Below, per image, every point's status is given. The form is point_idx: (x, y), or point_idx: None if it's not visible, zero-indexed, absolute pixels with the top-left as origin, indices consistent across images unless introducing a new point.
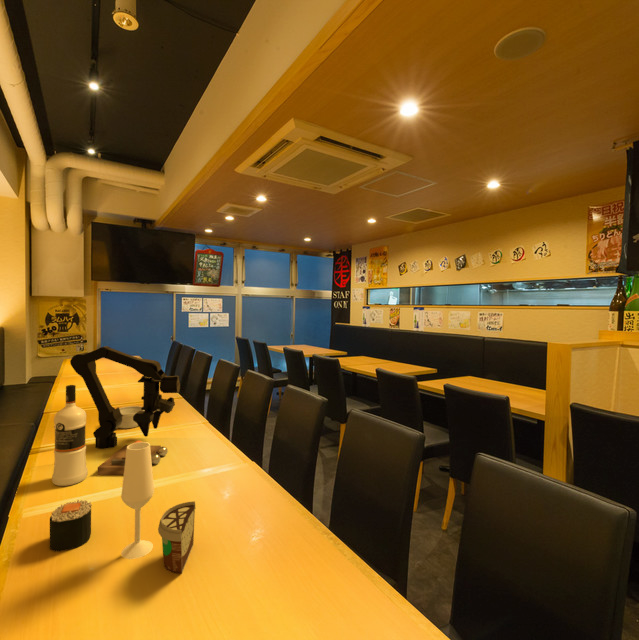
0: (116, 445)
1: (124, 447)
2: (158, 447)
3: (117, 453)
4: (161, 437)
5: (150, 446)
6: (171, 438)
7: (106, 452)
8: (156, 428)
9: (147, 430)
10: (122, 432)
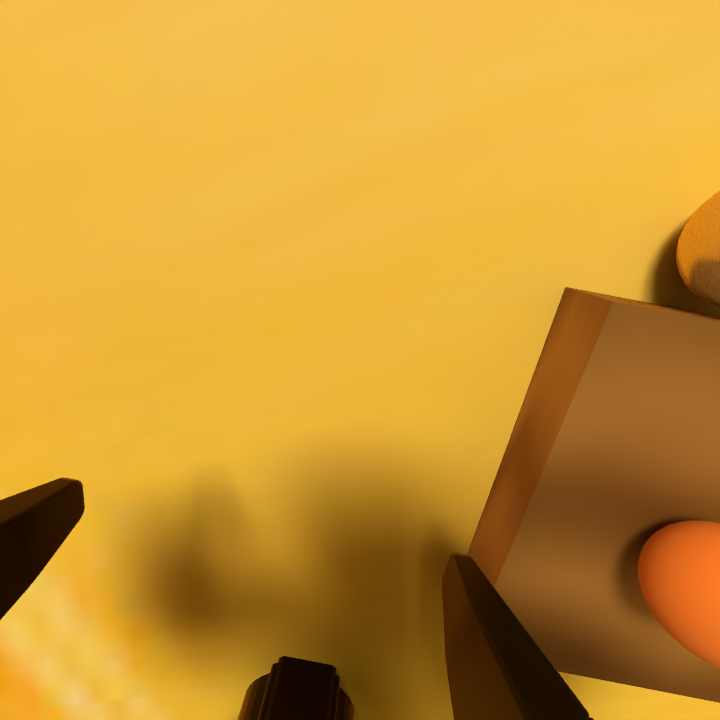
0: (293, 658)
1: None
2: (689, 320)
3: (688, 679)
4: (83, 355)
5: (597, 429)
6: (106, 231)
7: (432, 688)
8: (80, 481)
9: (550, 673)
10: (6, 662)
